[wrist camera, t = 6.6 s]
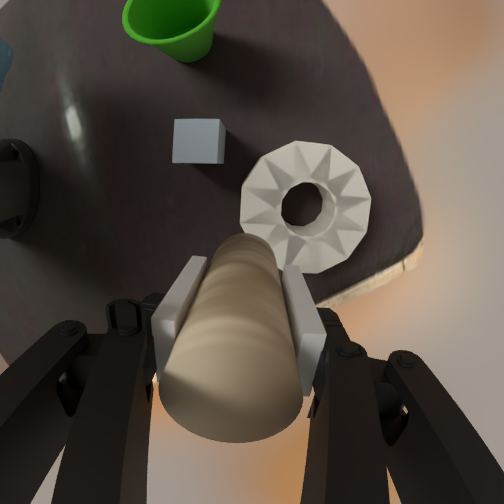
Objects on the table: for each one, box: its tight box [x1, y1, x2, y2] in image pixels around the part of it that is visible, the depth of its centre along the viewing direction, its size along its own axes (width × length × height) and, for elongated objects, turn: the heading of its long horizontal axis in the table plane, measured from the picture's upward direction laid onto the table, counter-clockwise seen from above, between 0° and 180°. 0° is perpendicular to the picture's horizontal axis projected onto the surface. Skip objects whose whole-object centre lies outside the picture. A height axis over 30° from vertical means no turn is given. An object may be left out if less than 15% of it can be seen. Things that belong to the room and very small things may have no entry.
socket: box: [240, 141, 371, 273], centre depth 31 cm, size 14×14×5 cm
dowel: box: [159, 233, 303, 443], centre depth 13 cm, size 4×4×12 cm
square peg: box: [172, 119, 226, 164], centre depth 27 cm, size 4×4×8 cm
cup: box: [122, 0, 221, 63], centre depth 22 cm, size 9×9×11 cm
